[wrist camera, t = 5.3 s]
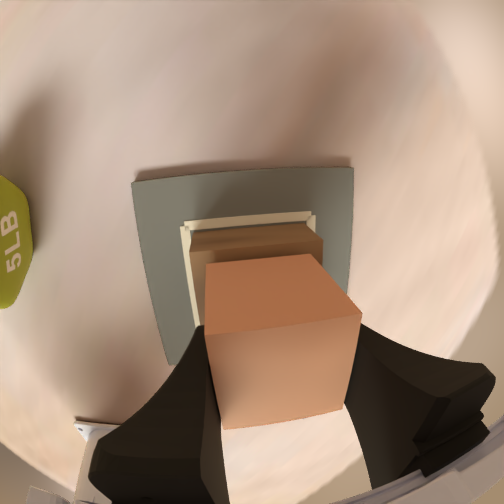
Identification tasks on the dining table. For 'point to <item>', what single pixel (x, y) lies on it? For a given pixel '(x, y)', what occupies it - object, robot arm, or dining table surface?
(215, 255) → the base block
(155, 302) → the grey square base plate
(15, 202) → the dumbbell
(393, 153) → the dining table surface
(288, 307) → the top block
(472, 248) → the dining table surface
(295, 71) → the dining table surface
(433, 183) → the dining table surface
